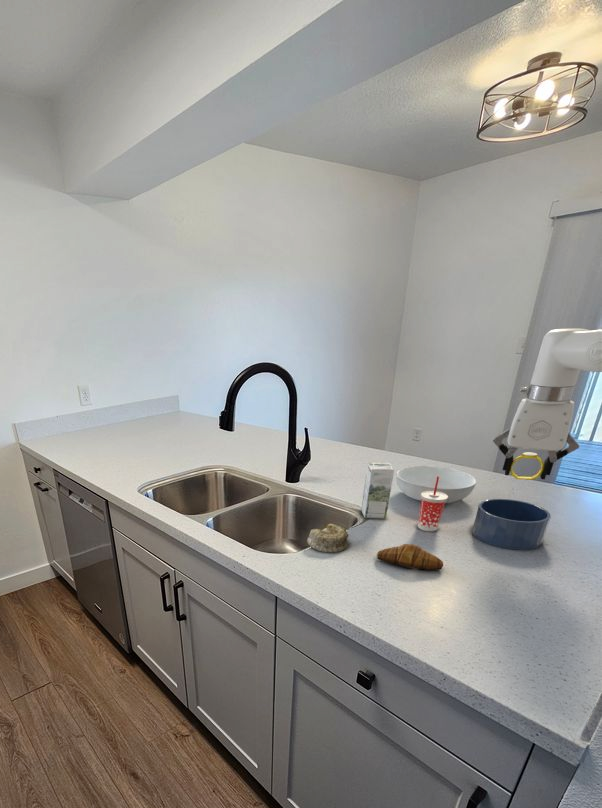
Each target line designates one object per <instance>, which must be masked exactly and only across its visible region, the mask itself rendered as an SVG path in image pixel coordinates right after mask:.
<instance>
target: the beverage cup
mask: <svg viewBox="0 0 602 808" xmlns="http://www.w3.org/2000/svg"><path fill="white" fill-rule="evenodd" d="M438 480H439V476H437V480H436V484H435V489H434V491H425V492H422V493H421V497H420V498H421V501H420V505H419V506H420V507H419V515H418V522H417V527H418V529H419V530H422V531H425V532H436V531H437V530H438V528H439V526H440V521H441V519H442V514H443V511H444V509H445V504H446V503H445V502H446V501H447V499H448V496H447V495H446V494H444V493H441V492H436V490H437V485H438Z"/></svg>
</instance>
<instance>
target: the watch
mask: <svg viewBox="0 0 602 808" xmlns="http://www.w3.org/2000/svg"><path fill="white" fill-rule="evenodd" d="M523 458H524V459H536V460H537V461H538V462H539V463H540V469H539V471H538V472H537V473H536V474H534V475H532V476H521V475H520V476H519V475H517V474H516V473H515V472H514V469H513V467H514V464H515V463H516V462H517V461H519V460H520V459H523ZM543 466H544V462H543V460H542V458H541V457H540V456H538V453H537V452H531V451H527V452H526V451H525V452H522V453H521V455H518V456H516V457H515V458H513V463H512V466H511V469H510V474H511V476H512V477H513V478H514V479H516V480H527V481H534V480H535V479H537V478H539V477H540V474H541V473H542V472H543Z"/></svg>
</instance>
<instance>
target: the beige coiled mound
mask: <svg viewBox="0 0 602 808" xmlns="http://www.w3.org/2000/svg"><path fill="white" fill-rule="evenodd" d="M348 537H349V532H348V531H347V530H346V529H345V528H344V526H343V527H342V526H340V525H337V524H335V523H328V524H327V525H326V528H323V529H319V528H313V529H311V530H310V532H309V534H308V537H307V539H306V540H307V541H306V543H307V545H308V546H309V547H310V548H312V549H315V550H316V551H319V552H323V553H338V552H341V551H344V550H346V549H347V548H348V547H349V541H348Z"/></svg>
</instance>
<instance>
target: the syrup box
mask: <svg viewBox="0 0 602 808" xmlns="http://www.w3.org/2000/svg"><path fill="white" fill-rule="evenodd" d="M394 475H395V469H394V467H393V466H392V464H391V463H390V462H368V463H367V466H366V474H365V482H364V489H363V496H362V503H361V509H360V510H361V512H362V515H363V518H364V519H376V520H377V519H378V520H380V519H381V520H385V519H387V515H388V509H389V503H390V496H391V492H392V486H393V480H394Z"/></svg>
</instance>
